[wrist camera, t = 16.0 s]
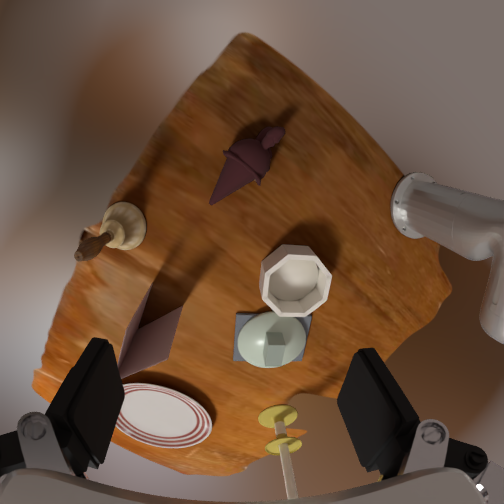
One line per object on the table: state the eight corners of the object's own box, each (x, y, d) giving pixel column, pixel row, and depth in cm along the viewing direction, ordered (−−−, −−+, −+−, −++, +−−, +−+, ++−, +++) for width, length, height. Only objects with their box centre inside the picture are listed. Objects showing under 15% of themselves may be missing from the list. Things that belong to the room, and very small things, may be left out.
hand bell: (95, 228, 43) (44, 260, 28) (120, 191, 42) (70, 210, 27) (129, 258, 46) (90, 302, 30) (156, 223, 44) (121, 256, 29)
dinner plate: (181, 365, 54) (179, 376, 51) (228, 433, 63) (228, 442, 60) (87, 381, 55) (83, 390, 52) (143, 442, 64) (141, 451, 61)
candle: (299, 422, 63) (320, 508, 37) (262, 430, 63) (273, 517, 37) (295, 400, 59) (319, 497, 34) (254, 409, 59) (265, 507, 34)
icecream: (235, 226, 39) (305, 146, 37) (193, 194, 35) (269, 108, 33) (223, 212, 45) (284, 143, 43) (188, 184, 41) (252, 111, 39)
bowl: (325, 247, 47) (335, 257, 42) (315, 302, 51) (323, 316, 46) (263, 243, 46) (267, 253, 42) (257, 301, 50) (260, 316, 45)
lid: (310, 311, 51) (317, 326, 46) (298, 364, 55) (303, 380, 50) (240, 309, 49) (241, 325, 45) (235, 363, 53) (235, 380, 49)
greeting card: (140, 332, 50) (117, 385, 36) (116, 304, 48) (85, 351, 34) (185, 309, 49) (171, 363, 35) (161, 276, 47) (137, 323, 33)
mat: (310, 314, 51) (311, 316, 51) (301, 359, 55) (301, 360, 54) (236, 313, 50) (236, 314, 50) (233, 358, 54) (233, 360, 53)
